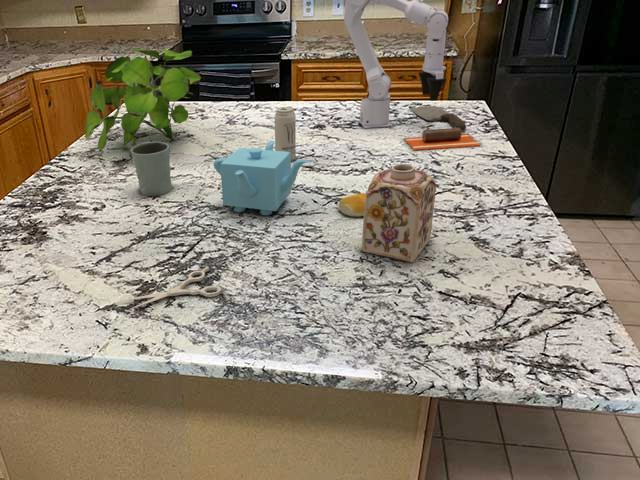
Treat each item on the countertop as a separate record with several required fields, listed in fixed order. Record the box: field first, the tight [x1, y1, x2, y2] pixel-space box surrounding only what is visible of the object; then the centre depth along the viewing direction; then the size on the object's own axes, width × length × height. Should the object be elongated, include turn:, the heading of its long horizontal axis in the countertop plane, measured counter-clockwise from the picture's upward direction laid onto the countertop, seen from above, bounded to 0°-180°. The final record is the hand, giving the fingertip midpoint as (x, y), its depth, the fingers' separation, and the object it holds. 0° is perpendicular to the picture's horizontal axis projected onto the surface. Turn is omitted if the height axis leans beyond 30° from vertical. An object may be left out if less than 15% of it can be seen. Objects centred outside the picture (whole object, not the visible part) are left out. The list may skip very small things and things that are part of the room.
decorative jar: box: [361, 163, 437, 263], centre depth 127 cm, size 12×12×18 cm
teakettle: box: [213, 140, 310, 216], centre depth 150 cm, size 19×19×15 cm
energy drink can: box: [274, 106, 297, 162], centre depth 178 cm, size 6×6×15 cm
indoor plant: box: [84, 48, 202, 151], centre depth 196 cm, size 44×42×30 cm
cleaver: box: [411, 105, 467, 131], centre depth 207 cm, size 29×10×2 cm, turn 9°
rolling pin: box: [421, 127, 462, 142], centre depth 187 cm, size 11×4×4 cm, turn 94°
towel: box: [403, 133, 481, 152], centre depth 187 cm, size 20×11×1 cm, turn 93°
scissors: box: [121, 266, 222, 311], centre depth 119 cm, size 11×1×20 cm
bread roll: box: [338, 192, 366, 218], centre depth 148 cm, size 8×9×4 cm
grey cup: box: [130, 141, 172, 197], centre depth 164 cm, size 10×10×12 cm
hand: (429, 97), depth 197 cm, fingers open, 7 cm apart
